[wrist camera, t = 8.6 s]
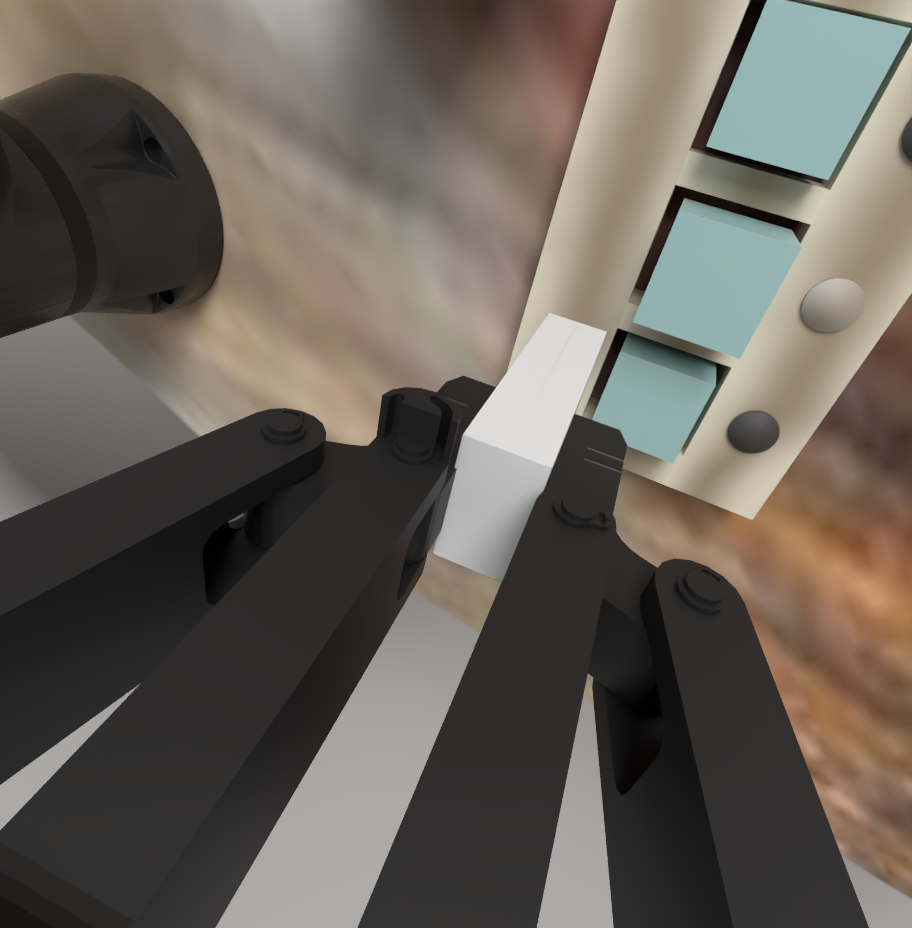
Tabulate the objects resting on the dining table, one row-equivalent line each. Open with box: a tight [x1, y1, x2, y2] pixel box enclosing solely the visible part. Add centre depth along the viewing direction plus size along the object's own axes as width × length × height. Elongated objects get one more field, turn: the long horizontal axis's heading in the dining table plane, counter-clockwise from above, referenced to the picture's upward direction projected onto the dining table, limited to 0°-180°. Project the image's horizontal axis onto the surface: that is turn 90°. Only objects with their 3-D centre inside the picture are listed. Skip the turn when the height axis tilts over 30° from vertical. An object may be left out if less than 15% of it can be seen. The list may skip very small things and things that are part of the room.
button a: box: [592, 332, 716, 463], centre depth 31 cm, size 5×5×4 cm
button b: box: [633, 198, 802, 359], centre depth 25 cm, size 5×5×4 cm
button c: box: [706, 0, 911, 180], centre depth 23 cm, size 5×5×4 cm
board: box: [507, 0, 912, 520], centre depth 28 cm, size 16×24×3 cm, turn 166°
